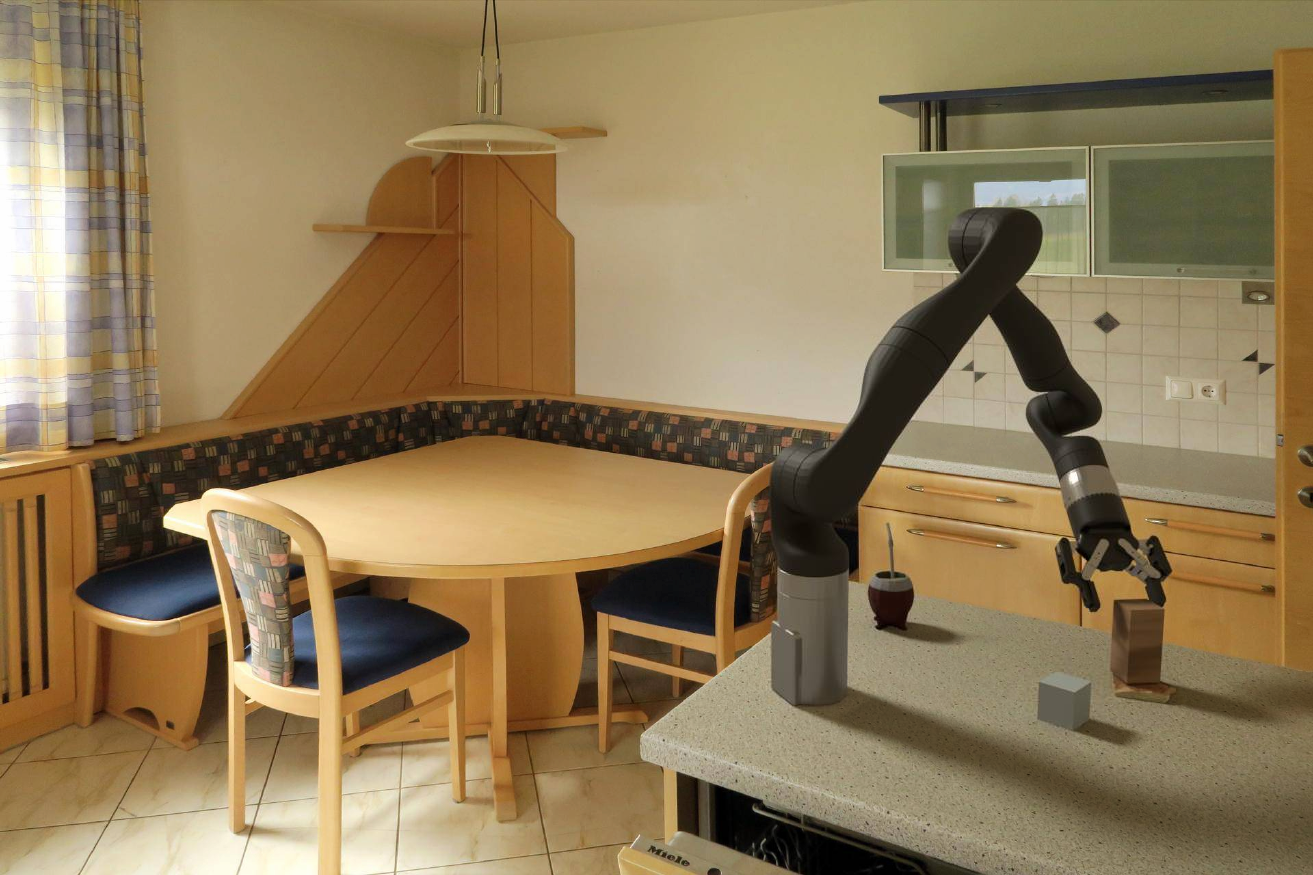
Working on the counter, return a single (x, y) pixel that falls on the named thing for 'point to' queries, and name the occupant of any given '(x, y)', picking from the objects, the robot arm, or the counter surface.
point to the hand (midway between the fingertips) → (1127, 609)
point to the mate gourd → (890, 595)
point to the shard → (1142, 690)
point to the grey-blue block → (1064, 700)
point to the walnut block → (1137, 640)
